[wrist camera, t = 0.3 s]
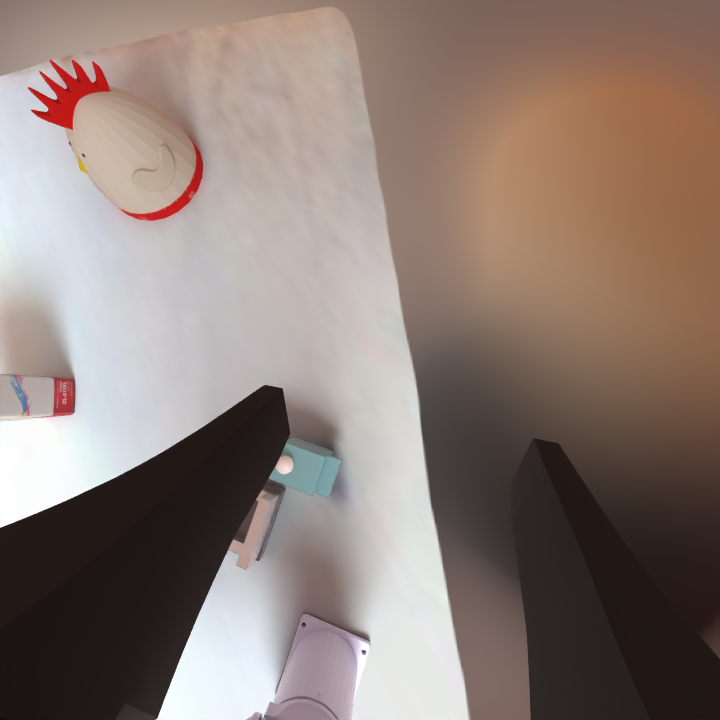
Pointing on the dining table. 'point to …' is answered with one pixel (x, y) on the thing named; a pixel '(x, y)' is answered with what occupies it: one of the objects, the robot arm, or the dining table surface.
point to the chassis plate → (257, 526)
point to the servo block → (306, 467)
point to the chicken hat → (124, 145)
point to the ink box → (35, 397)
